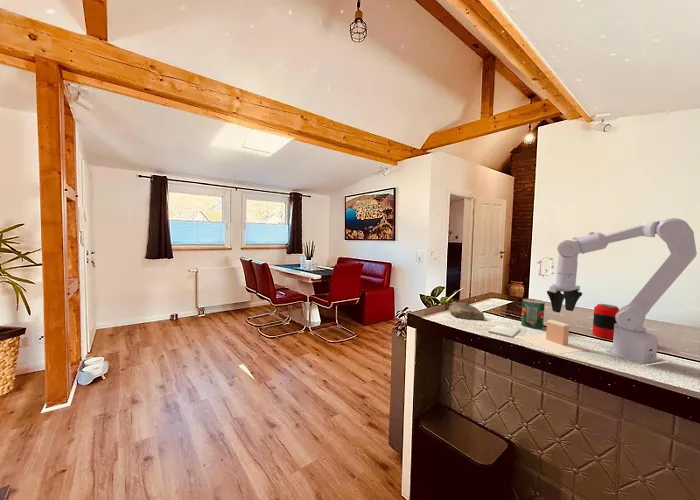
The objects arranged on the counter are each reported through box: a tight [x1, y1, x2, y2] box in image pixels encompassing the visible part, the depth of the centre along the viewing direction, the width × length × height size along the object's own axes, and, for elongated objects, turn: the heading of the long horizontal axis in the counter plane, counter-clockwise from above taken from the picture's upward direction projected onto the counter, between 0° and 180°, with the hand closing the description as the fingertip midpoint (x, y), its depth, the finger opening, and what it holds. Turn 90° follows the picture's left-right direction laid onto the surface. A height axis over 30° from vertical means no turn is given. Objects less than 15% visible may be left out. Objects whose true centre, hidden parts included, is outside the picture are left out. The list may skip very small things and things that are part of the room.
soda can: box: [592, 303, 620, 341], centre depth 110 cm, size 8×8×12 cm
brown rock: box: [448, 301, 485, 321], centre depth 138 cm, size 14×5×20 cm
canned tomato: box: [520, 298, 546, 330], centre depth 120 cm, size 8×8×11 cm
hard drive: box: [487, 324, 521, 339], centre depth 111 cm, size 2×8×12 cm
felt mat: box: [514, 333, 589, 355], centre depth 100 cm, size 16×14×1 cm
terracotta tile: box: [545, 319, 570, 345], centre depth 101 cm, size 6×2×7 cm, turn 18°
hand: (562, 311), depth 104 cm, fingers open, 7 cm apart
